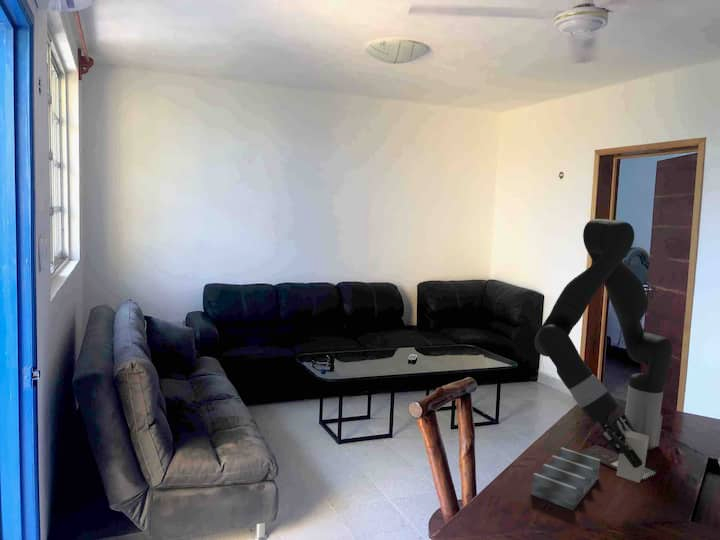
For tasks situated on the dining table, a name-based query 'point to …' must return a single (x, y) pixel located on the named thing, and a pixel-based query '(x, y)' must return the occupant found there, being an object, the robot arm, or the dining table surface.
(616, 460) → the chocolate bar
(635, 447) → the clay bar
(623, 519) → the dining table surface
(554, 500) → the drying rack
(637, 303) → the robot arm
